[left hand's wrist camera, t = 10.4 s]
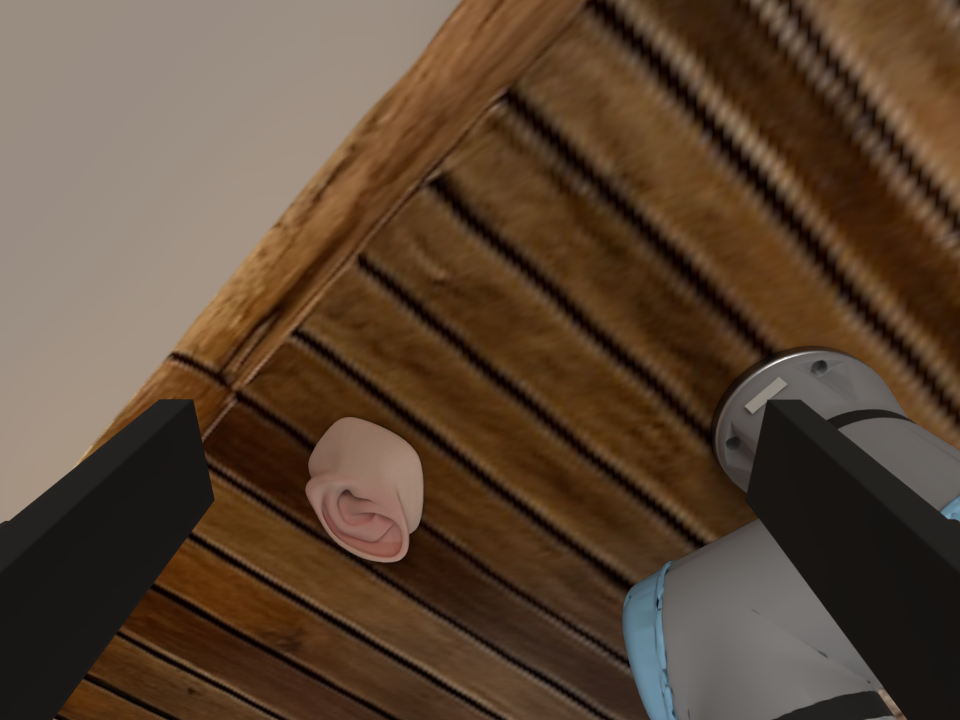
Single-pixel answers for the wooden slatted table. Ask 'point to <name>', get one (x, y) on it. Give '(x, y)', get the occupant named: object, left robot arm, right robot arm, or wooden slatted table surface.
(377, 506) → the anatomical model
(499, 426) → the wooden slatted table surface
